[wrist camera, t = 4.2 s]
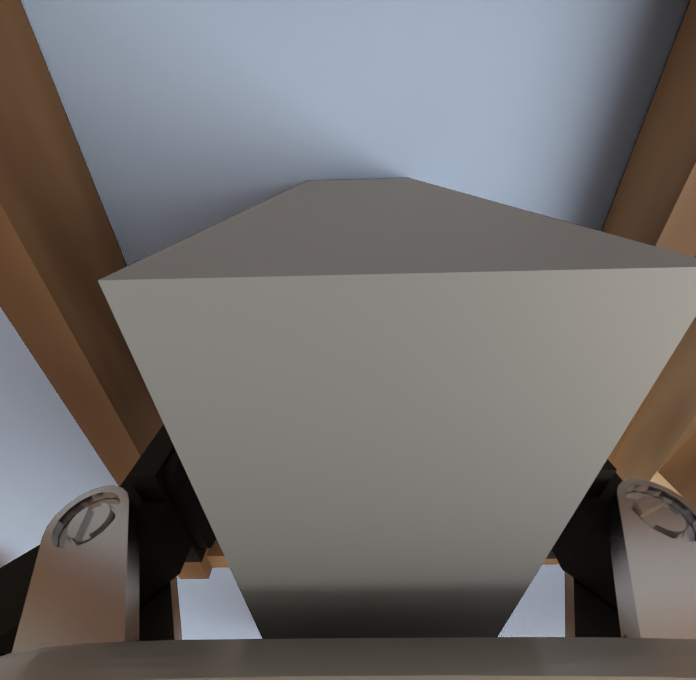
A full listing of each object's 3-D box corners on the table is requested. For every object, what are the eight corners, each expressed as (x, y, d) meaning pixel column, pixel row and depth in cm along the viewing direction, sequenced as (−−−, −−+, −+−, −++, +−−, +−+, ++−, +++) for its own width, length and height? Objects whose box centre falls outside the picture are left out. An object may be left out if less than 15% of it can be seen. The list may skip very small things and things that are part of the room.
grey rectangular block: (407, 177, 9) (725, 265, 1) (389, 447, 15) (431, 742, 8) (308, 180, 9) (97, 280, 1) (329, 448, 15) (310, 743, 8)
